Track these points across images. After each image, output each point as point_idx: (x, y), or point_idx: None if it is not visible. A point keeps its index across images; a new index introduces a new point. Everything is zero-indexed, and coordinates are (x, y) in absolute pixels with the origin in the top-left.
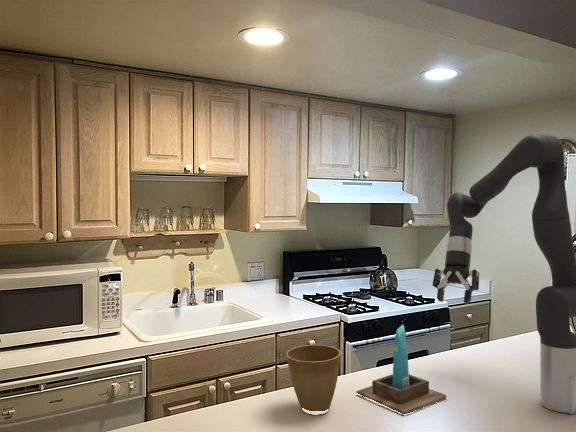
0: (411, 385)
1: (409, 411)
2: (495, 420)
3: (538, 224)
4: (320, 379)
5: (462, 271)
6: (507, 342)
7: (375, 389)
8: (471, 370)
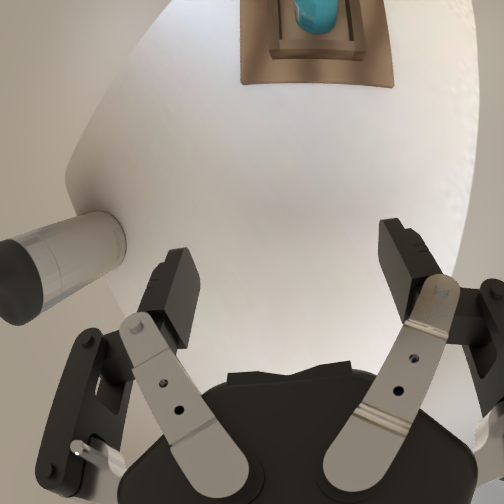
0: (276, 3)
1: None
2: (129, 91)
3: None
4: None
5: (170, 500)
6: None
7: None
8: (315, 294)
